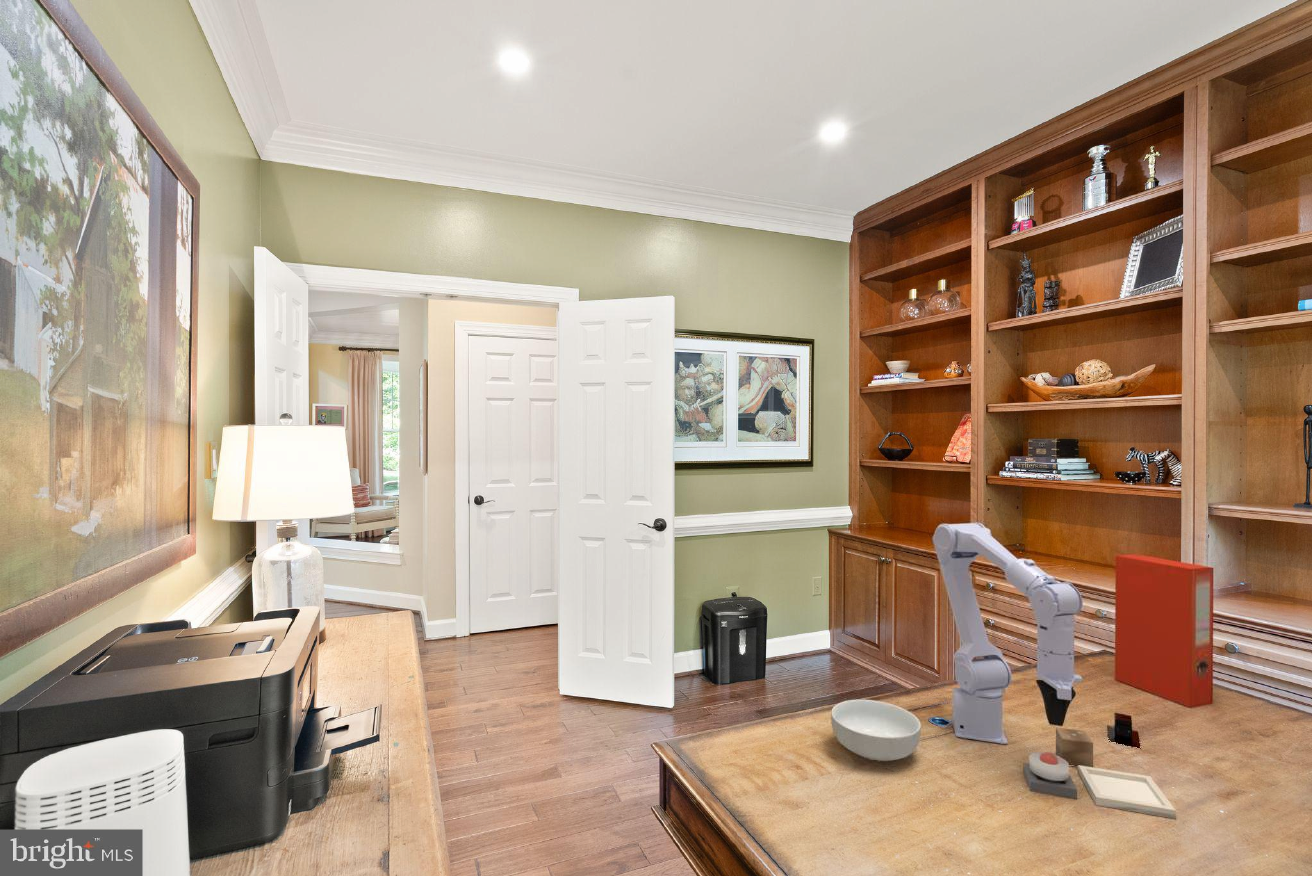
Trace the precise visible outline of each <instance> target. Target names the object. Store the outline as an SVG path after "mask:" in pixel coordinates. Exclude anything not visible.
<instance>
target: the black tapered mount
mask: <svg viewBox="0 0 1312 876" xmlns="http://www.w3.org/2000/svg"><path fill="white" fill-rule="evenodd" d="M1113 716H1114V717H1113V723H1114V724H1113V725H1108V724H1106V737H1108V738H1109V739H1108V740H1110V741H1111V742H1116V744H1115V745H1119V744H1122V745H1121V746H1124V745H1125V746H1124V747H1128V746H1131V747H1130V748H1133V747H1137V748H1140V746H1141V748H1140V749H1139V750H1142V745H1140V744H1141V740H1140V734H1139V731H1138V730H1133V719H1132V715H1130V714H1124V713H1119V712H1113ZM1107 731H1108V732H1107ZM1107 733H1108V734H1107ZM1110 741H1109V742H1108V743H1111V742H1110ZM1139 742H1140V743H1139ZM1117 743H1118V744H1117ZM1123 744H1124V745H1123ZM1137 748H1136V749H1137Z"/></svg>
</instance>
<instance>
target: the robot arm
mask: <svg viewBox="0 0 1312 876" xmlns="http://www.w3.org/2000/svg"><path fill="white" fill-rule="evenodd" d="M931 539H932V543H933V546H934V550H935V553H936V556H937V557H936V558H937V560H938V563H939V568H940V571H941V575H942V578H943V582H944V585H945V586H944V587H945V588H946V593H947V596H948V600H949V603H950V607H951V611H952V615H953V619H954V622H955V626H956V630H957V633H958V636H959V640H960V644H961V646H960V647H959V648H958V649H957V651H955V653H954V654H953V655H952V658H953V662H954V677H955V680H956V682H957V684H958V685H959V687H953V688H952V713H951V723H952V725H953V729H954V734H955V737H957V738H961V739H962V738H964V739H968V740H969V739H970V740H975V741H976V740H977V741H983V742H989V743H995V744H1002V745H1007V744H1008V740H1007V738H1006V735H1005V732H1004V729H1003V695H1004V694H1006V689H1007V688H1008V687H1010V685H1011V683H1012V680H1013V679H1012V678H1013V676H1012V670H1011V668H1010V665H1008V663H1007V661H1006V659H1005V657H1004V655H1003V652H1002V650H1001V649H1000V648H999V647H997V646H996V645H994V644H992V643H991V642H990V640H989V638H988V634H987V631H986V627H985V623H984V621H983V617H982V613H981V610H980V606H979V602H978V599H977V597H976V592H975V589H974V586H973V582H972V579H971V575H970V572H969V567H970V565H971V563H973V562H974V561H975V560H976V559H977V558H978V557H979V556H980V555H981V556H982V557H983V558H985V559H986V560H987V561H989V562H990V563H991V564H993V565H995V567H997V568H999V569H1001V570H1002V571H1003V572H1004V576H1005V580H1006V581H1007V582H1008V583H1009V584H1010V585H1011V586H1013V587H1014V588H1015V589H1017V591H1019V592H1020V593H1021V594H1023V595H1024V596H1025V597H1027V598H1028V600H1029V605H1030V607H1031V609H1032V610H1033V613H1034V621H1035V622H1036V624H1037V626H1036V627H1037V628H1036V630H1037V631H1036V632H1037V636H1036V637H1037V640H1036V643H1037V647H1036V649H1037V651H1036V653H1037V654H1036V655H1037V657H1036V659H1037V660H1036V662H1037V665H1036V667H1037V668H1036V670H1035V675H1036V677H1037V678H1038V679H1036V680H1035V682H1036V685H1037V686H1038V689H1039V691H1040V694H1041V696H1042V700H1043V705H1044V710H1045V715H1046V718H1047V719H1046V720H1047V721H1048V723H1049V725H1051V726H1057V727H1058V726H1059V727H1063V726H1064V723H1065V720H1066V716H1067V712H1068V709H1069V706H1070V704H1071V703H1072V701H1073V700H1074V698H1075V697H1076V694H1077V692H1076V691H1075V690H1074V686H1075V683H1082V682H1083V678H1082V676H1081V675H1080V674H1077V673H1076V674H1075V615H1076V614H1078V613H1080V612H1081V610H1082V608H1083V604H1084V603H1083V598H1082V594H1081V592H1080V591H1079V589H1077V587H1076V586H1074V584H1073V583H1071V582H1067V581H1064V582H1061V581H1059V580H1057V579H1056V578H1055V577H1054V576H1052V575H1049V574H1048V573H1047V572H1045V571H1044V570H1042V569H1041V568H1040V567H1038V566H1037V565H1036V561H1034V560H1033V559H1030V558H1029V559H1027V558H1017V557H1016V556H1015V555H1013V554H1012V553H1011V552H1010V551H1009V550H1008V549H1007V548H1006V547H1005V546H1003V544H1001V543H1000V542H999V541H998V540H997V539H995V537H993V536H992V531H991V530H990V529H989V528H988V527H985V525H984V524H982V523H980V522H977V521H976V522H969V523H940V524H939V525H937V527H936V529H935V530H934V534H933V536H932V538H931ZM978 657H980V658H978ZM974 658H975V659H974ZM977 658H978V659H977Z"/></svg>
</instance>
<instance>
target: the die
mask: <svg viewBox="0 0 1312 876" xmlns="http://www.w3.org/2000/svg"><path fill="white" fill-rule="evenodd" d="M1055 753H1056V756H1059V757H1061V758H1062V759H1064V760H1066V761H1067V762H1068V764H1069V765H1074V766H1073V767H1076V766H1078V765H1081V766H1087V767H1093V768H1094V742H1093V741H1092V739H1091V738H1090V736H1089V735H1088V733H1087V731H1086V730H1080V729H1079V730H1077V729H1072V728H1071V729H1070V728H1063V727H1058V726H1057V727H1055Z"/></svg>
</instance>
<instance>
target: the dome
mask: <svg viewBox="0 0 1312 876" xmlns="http://www.w3.org/2000/svg"><path fill="white" fill-rule="evenodd" d="M1028 763H1029V768H1030V770H1031V771H1032V772H1033V773H1035V774H1036V775H1038V776H1040V777H1041V780H1044V781H1050V782H1056V783H1057V781H1064V780H1067V779H1068V778H1069V775H1070V766H1069V764H1068V762H1067V761H1066V760H1064V759H1062V758H1061V757H1058V755H1057V754H1056V755H1055V754H1053V753H1051V752H1043V751H1042V752H1041V751H1037V752H1032V753H1030V754H1029V761H1028Z"/></svg>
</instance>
